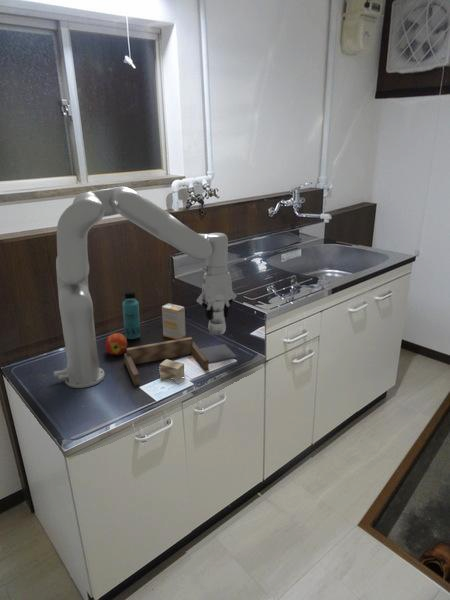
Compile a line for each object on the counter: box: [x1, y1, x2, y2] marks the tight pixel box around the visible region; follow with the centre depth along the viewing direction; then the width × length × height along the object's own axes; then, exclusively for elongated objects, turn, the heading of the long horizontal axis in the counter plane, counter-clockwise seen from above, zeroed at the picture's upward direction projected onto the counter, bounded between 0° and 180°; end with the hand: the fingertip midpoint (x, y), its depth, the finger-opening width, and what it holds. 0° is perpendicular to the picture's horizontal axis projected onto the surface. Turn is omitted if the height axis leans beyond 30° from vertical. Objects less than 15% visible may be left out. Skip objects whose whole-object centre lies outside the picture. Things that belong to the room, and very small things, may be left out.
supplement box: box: [161, 303, 187, 340], centre depth 169 cm, size 8×5×13 cm, turn 58°
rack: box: [123, 336, 210, 386], centre depth 147 cm, size 26×16×6 cm, turn 113°
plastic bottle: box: [207, 294, 227, 336], centre depth 151 cm, size 6×7×20 cm
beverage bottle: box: [121, 290, 141, 340], centre depth 165 cm, size 6×7×20 cm
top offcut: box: [159, 358, 185, 376], centre depth 141 cm, size 7×4×2 cm, turn 65°
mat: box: [199, 343, 237, 364], centre depth 157 cm, size 11×11×1 cm
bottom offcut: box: [159, 370, 185, 381], centre depth 142 cm, size 8×4×2 cm, turn 100°
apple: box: [104, 332, 128, 356], centre depth 156 cm, size 8×8×8 cm
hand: (217, 317), depth 152 cm, fingers closed on plastic bottle, 5 cm apart
